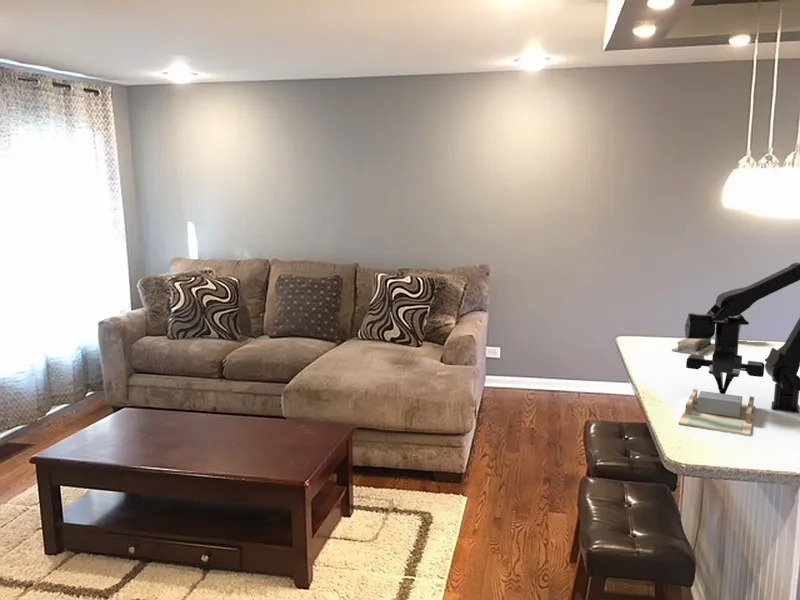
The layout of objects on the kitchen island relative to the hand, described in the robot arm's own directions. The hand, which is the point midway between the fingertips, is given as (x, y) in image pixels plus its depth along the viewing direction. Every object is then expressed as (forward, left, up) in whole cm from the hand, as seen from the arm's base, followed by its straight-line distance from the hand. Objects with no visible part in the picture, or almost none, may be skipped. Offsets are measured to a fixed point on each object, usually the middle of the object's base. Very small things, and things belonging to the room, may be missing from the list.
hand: (722, 396), depth 185 cm
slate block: (+8, 0, -2) cm, 8 cm away
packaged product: (-65, -14, -3) cm, 67 cm away
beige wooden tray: (+10, 0, -2) cm, 10 cm away
